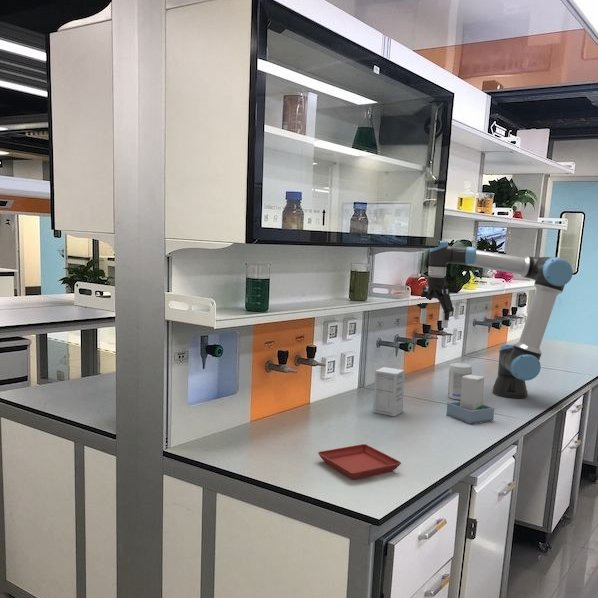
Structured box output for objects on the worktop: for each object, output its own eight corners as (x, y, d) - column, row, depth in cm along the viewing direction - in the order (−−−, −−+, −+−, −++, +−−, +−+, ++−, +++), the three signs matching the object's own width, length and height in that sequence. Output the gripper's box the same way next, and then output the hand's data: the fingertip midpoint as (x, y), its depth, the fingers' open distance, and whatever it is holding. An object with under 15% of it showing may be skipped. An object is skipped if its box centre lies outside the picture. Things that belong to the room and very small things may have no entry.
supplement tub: (474, 399, 255) (477, 366, 253) (459, 401, 249) (462, 368, 248) (457, 394, 263) (459, 362, 261) (442, 396, 257) (445, 363, 256)
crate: (469, 412, 234) (470, 399, 234) (493, 420, 223) (494, 408, 223) (446, 415, 228) (447, 402, 227) (470, 424, 217) (471, 411, 217)
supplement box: (403, 411, 231) (406, 369, 229) (395, 417, 223) (397, 373, 221) (381, 407, 235) (383, 366, 234) (372, 412, 227) (374, 370, 226)
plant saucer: (316, 461, 174) (316, 451, 174) (364, 453, 183) (364, 442, 183) (351, 484, 159) (352, 473, 158) (402, 473, 168) (402, 462, 168)
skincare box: (474, 419, 221) (477, 379, 219) (457, 416, 225) (460, 376, 223) (482, 415, 227) (485, 376, 226) (466, 411, 231) (469, 373, 230)
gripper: (410, 274, 259) (408, 321, 261) (451, 278, 237) (447, 330, 239) (423, 274, 263) (420, 321, 265) (464, 278, 241) (460, 329, 243)
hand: (433, 325), depth 252 cm, fingers open, 13 cm apart
